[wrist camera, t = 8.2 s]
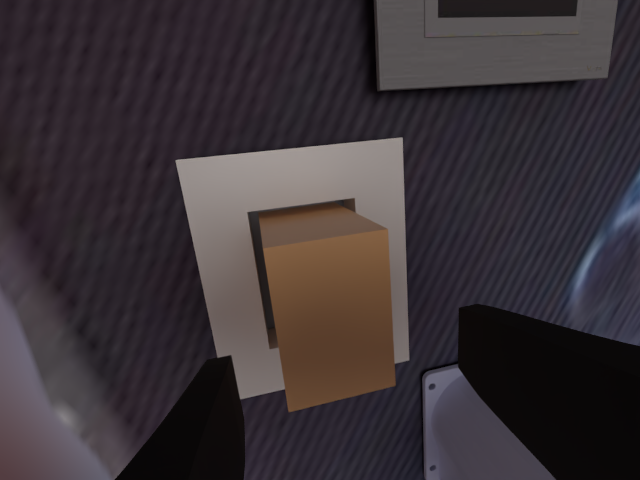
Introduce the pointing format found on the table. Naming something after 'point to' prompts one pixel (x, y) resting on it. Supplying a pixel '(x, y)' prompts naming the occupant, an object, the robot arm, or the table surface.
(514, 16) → the electrical outlet
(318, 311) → the plug
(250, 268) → the socket block
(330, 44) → the table surface
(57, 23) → the table surface
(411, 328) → the table surface
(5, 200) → the table surface
